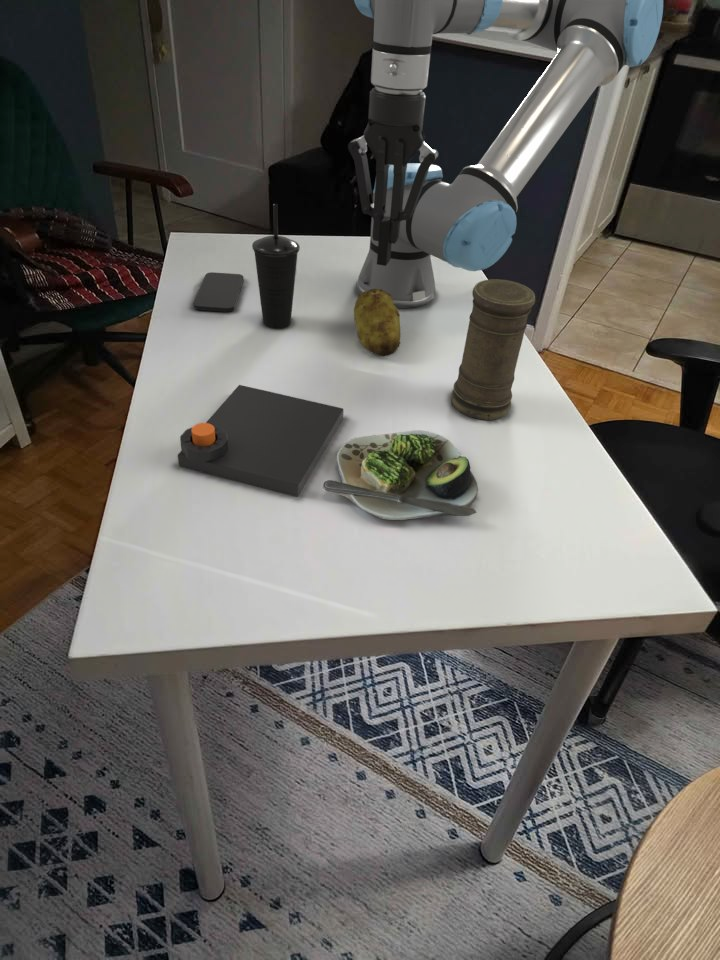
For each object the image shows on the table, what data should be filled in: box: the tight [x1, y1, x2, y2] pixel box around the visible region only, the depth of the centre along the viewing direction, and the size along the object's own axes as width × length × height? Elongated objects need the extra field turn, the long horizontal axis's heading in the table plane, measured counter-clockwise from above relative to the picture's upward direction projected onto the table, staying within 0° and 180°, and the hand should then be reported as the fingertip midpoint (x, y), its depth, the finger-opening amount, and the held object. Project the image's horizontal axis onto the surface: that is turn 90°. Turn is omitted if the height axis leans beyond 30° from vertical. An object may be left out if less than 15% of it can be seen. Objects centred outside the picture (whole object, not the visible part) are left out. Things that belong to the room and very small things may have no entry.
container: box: [450, 278, 536, 421], centre depth 92 cm, size 9×9×18 cm
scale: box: [177, 384, 344, 497], centre depth 86 cm, size 18×16×4 cm
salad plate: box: [322, 429, 479, 521], centre depth 80 cm, size 19×18×5 cm
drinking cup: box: [251, 203, 301, 330], centre depth 107 cm, size 8×8×20 cm
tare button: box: [191, 422, 216, 446], centre depth 80 cm, size 3×3×2 cm
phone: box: [192, 271, 245, 313], centre depth 121 cm, size 7×1×15 cm
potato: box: [353, 289, 402, 357], centre depth 108 cm, size 8×13×8 cm, turn 176°
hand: (383, 261), depth 101 cm, fingers closed
